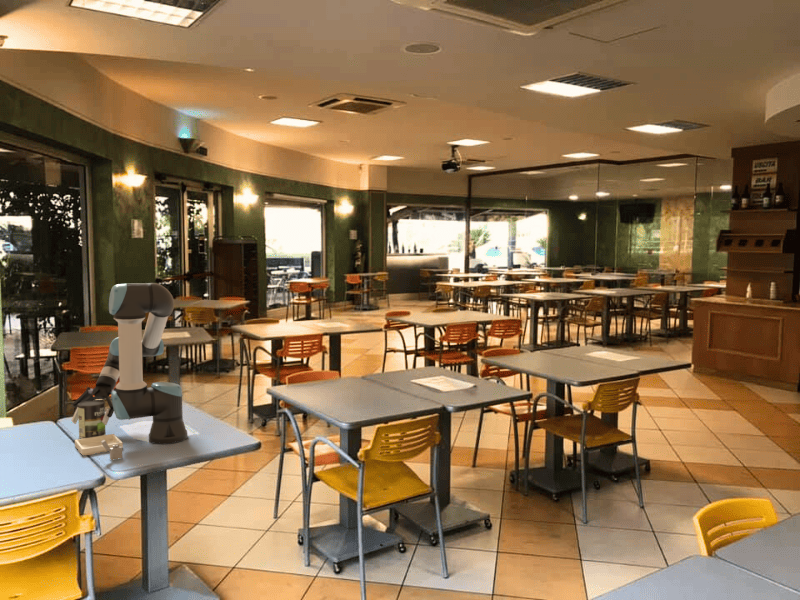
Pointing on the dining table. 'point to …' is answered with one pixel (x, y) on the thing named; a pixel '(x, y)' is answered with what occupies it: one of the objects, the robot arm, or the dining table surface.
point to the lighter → (113, 450)
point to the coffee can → (91, 418)
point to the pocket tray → (96, 444)
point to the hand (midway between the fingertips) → (88, 422)
